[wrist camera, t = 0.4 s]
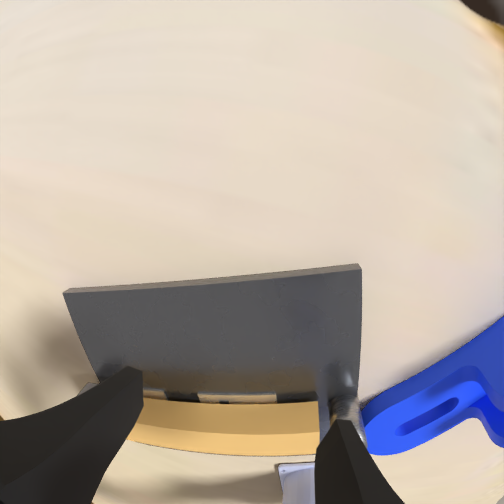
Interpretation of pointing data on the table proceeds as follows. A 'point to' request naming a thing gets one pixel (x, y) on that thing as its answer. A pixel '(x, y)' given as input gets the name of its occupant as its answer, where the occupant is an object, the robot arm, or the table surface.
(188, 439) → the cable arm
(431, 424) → the bracket
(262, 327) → the panel
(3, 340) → the table surface
